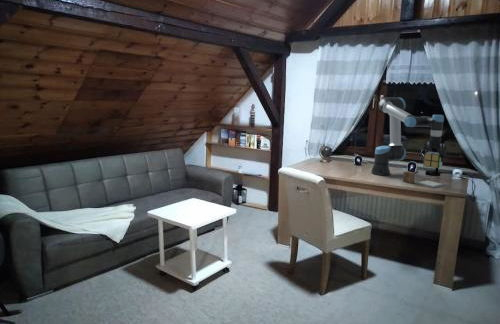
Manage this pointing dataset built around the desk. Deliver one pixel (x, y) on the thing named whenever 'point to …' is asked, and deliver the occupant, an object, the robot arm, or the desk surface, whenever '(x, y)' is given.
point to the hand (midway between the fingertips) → (432, 164)
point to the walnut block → (408, 177)
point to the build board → (430, 184)
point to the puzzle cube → (431, 159)
